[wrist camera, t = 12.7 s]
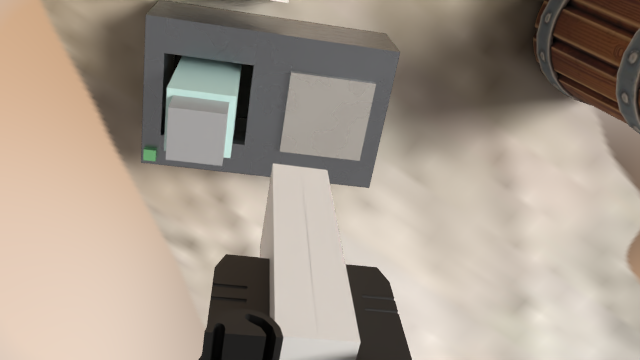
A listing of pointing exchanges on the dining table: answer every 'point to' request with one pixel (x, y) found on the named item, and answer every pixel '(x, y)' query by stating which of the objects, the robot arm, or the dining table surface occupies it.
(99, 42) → the dining table surface
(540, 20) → the mug
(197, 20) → the port panel
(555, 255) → the dining table surface
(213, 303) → the robot arm
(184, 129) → the plug
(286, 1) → the holster
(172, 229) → the dining table surface
